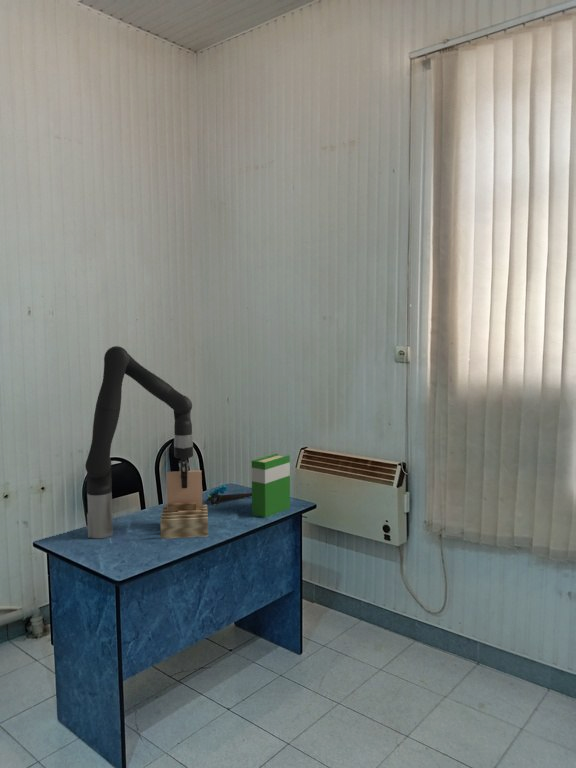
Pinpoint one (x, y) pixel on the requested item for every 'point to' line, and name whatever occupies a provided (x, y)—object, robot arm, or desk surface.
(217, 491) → the gear
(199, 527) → the rack
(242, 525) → the desk surface
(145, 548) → the desk surface
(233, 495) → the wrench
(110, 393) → the robot arm
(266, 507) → the hardback book
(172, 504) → the offcut tall
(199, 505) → the tall sheet
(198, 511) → the offcut short
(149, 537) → the desk surface
